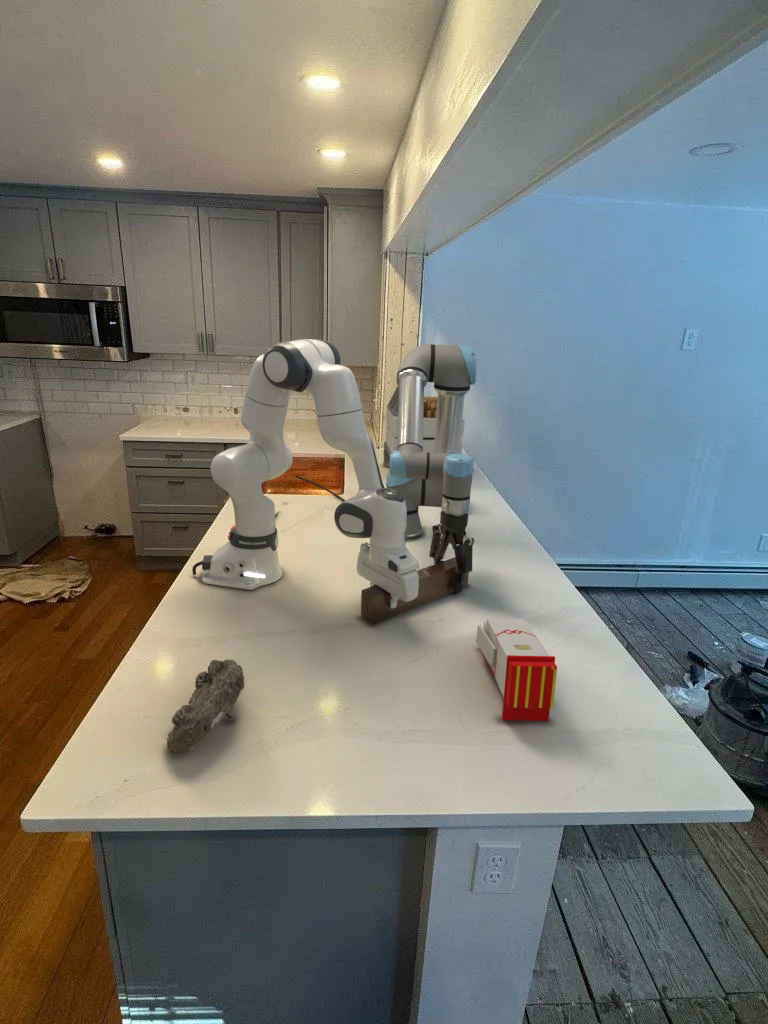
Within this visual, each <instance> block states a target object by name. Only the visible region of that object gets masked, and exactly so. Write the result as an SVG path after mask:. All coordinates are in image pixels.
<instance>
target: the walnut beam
mask: <svg viewBox="0 0 768 1024" xmlns="http://www.w3.org/2000/svg"><path fill="white" fill-rule="evenodd" d="M416 570H417V572H418V576H419V588H418V596H417V597H416V598H415V599H414V600H411V601H408V602H404V601H403V600H401V599H398V601H397V606H396V607H395V608H393V609H392V608H390V607H389V606H388V601H389V600H391V599H392V597H391V593H389V592H387V591H386V590H384V589H382V588H380V587H379V586H377V585H375V586H372V587H371V586H369V587H366V588H363V589H361V592H360V593H361V595H360V596H361V597H360V619H361V620H363V621H365V622H366V623H367V624H369V625H371V626H373V625H376V624H379V623H381V622H383V621H386V620H388V619H391V618H393V617H396V616H398V615H401V614H402V613H403V614H404V613H406V612H407V611H410V610H413V609H416V608H418V607H420V606H422V605H425V604H427V603H430V602H432V601H434V600H437V599H440V598H442V597H445V596H447V595H450V594H452V593H453V592H454V582H455V572H457V571H458V569H457V563H456V557H455V556H454V557H452V558H448V559H446V560H443V562H440V563H437V564H434V563H433V564H431V565H429V566H426V567H423V568H421V569H416ZM469 576H470V572H469V573H466V574H465V582H464V583H463V586H462V589H465V588H467V587H468V585H469Z"/></svg>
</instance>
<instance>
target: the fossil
mask: <svg viewBox="0 0 768 1024" xmlns="http://www.w3.org/2000/svg"><path fill="white" fill-rule="evenodd" d="M243 670H244V669H243V667H242V665H240V664H237V662H236V661H235V660H234V659H232V658H231V659H227V658H226V659H224V660H223V661H222V660H217V659H212V660H211V661H210V663H209V665H208V666H207V671H201V672H199V673H198V674H197V675H196V676H195V680H194V684H195V685H194V687H195V689H194V690H193V693H192V694H191V697H190V698H189V700H188V704H184V705H182V706H181V707H180V709H177V710H176V711H175V713H174V715H173V716H172V718H171V723H172V724H173V727H172V730H171V731H170V732H168V734H167V738H166V741H167V742H166V745H167V749H168V750H169V751H173V752H174V753H176V754H178V753H182V752H188V751H189V752H192V751H193V750H195V748H196V747H197V746H199V744H200V743H201V742H203V741H204V740H205V739H206V738H207V737H208V736H209V735H210V734H211V733H212V732H214V730H215V729H217V727H218V726H219V724H220V722H221V721H222V720H223V719H224V718H225V716H226V717H227V719H229V720H233V717H232V715H230V714H229V710H230V709H231V708H234V706H235V704H236V703H237V702H238V699H239V697H240V695H241V693H242V691H243V690H245V689H244V688H245V675H244V671H243Z"/></svg>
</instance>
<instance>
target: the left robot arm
mask: <svg viewBox="0 0 768 1024" xmlns="http://www.w3.org/2000/svg"><path fill="white" fill-rule="evenodd" d="M341 361H342V359H341V355H340V352H339V350H338V348H337V347H336V346H335V344H334V343H332V342H331V341H329V340H325V339H321V338H314V339H312V338H298V339H295V340H289V341H280V342H277V343H275V344H273V345H271V346H270V347H269V348H267V350H266V351H265V352H264V353H263V354H260V355H259V356H258V357H257V358H256V359H255V361H254V363H253V366H252V368H251V371H250V373H249V377H248V378H247V383H246V387H245V388H246V389H245V393H244V398H243V403H242V408H241V414H240V423H241V424H242V426H243V428H244V429H245V430H246V431H248V432H249V436H250V437H249V440H248V442H247V443H246V444H242V445H238V446H233V447H230V448H227V449H225V450H223V451H222V452H220V453H218V454H216V455H215V456H214V457H213V458H212V460H211V463H210V475H211V477H212V480H213V482H215V484H216V485H217V486H218V487H219V488H220V489H222V490H224V491H225V492H226V493H227V494H228V496H229V497H230V500H231V503H232V506H233V512H234V523H235V524H233V525H232V527H231V528H230V530H229V532H228V535H227V542H226V543H225V544H223V545H222V546H221V547H219V548H218V549H217V550H216V551H215V552H214V553H213V554H212V555H211V554H209V555H208V554H206V555H203V558H202V560H201V561H198V562H196V563H195V564H194V565H193V566H192V567H191V569H192V571H191V572H192V576H197V568H198V567H200V566H201V568H202V569H201V570H202V571H203V572H202V574H201V581H202V582H203V583H204V584H208V585H212V586H213V585H214V586H221V587H227V588H233V589H241V590H247V591H248V590H249V591H252V590H255V589H257V588H260V587H262V586H266V585H270V584H273V583H275V582H277V581H279V580H280V579H281V578H282V576H283V571H282V567H281V565H280V560H279V554H278V547H279V535H278V529H277V527H276V518H275V515H276V506H275V502H274V501H273V500H272V499H271V498H270V497H268V496H266V495H264V491H263V488H262V484H263V483H264V482H267V481H270V480H274V479H277V478H278V477H280V476H282V475H283V474H285V473H286V472H287V471H289V470H290V469H291V467H292V464H293V461H294V459H293V457H294V456H293V453H292V450H291V448H290V446H289V445H288V444H287V443H286V442H285V437H284V426H285V421H286V416H287V412H288V406H289V402H290V397H291V393H292V391H293V392H297V393H303V392H304V391H306V392H308V393H310V395H311V396H312V398H313V401H314V405H315V413H316V419H317V426H318V429H319V432H320V435H321V438H322V440H323V441H324V442H325V443H326V444H327V445H328V446H330V447H331V448H333V449H335V450H337V451H340V452H344V453H346V454H347V455H348V457H350V459H351V462H352V465H353V469H354V473H355V477H356V480H357V484H358V491H357V494H356V495H355V494H354V496H352V497H349V498H348V499H345V500H346V501H344V502H343V501H342V502H341V503H340V504H338V505H337V507H336V508H335V510H334V515H333V518H334V519H333V520H334V524H335V526H336V528H337V530H338V531H339V532H340V533H341V534H342V535H344V536H345V537H347V538H354V539H369V543H368V542H366V541H365V542H363V543H361V544H360V545H359V552H358V555H357V560H356V573H357V575H358V576H360V577H362V578H363V579H365V580H366V581H368V582H370V583H369V585H370V587H372V586H375V585H377V586H379V587H380V588H382V589H384V590H386V591H387V592H389V593H391V597H392V599H391V600H389V601H388V606H389V607H390V608H392V609H393V608H395V607H396V606H397V601H398V599H401V600H403V601H404V602H408V601H411V600H414V599H415V598H416V597H417V596H418V588H419V576H418V572H417V570H418V569H419V568H420V561H419V559H418V558H417V557H416V556H414V555H413V554H412V552H411V551H410V550H409V549H408V547H406V540H405V538H404V533H405V530H406V525H407V508H406V501H405V498H404V496H403V495H402V494H401V493H400V492H398V491H396V490H393V489H389V488H386V486H385V485H384V483H383V479H382V476H381V472H380V467H379V463H378V459H377V455H376V451H375V450H376V449H375V446H374V443H373V440H372V438H371V436H370V434H369V432H368V428H367V425H366V421H365V415H364V409H363V404H362V398H361V395H360V390H359V387H358V384H357V381H356V377H355V374H354V373H353V371H352V369H350V368H349V367H348V366H345V365H343V364H342V363H341Z"/></svg>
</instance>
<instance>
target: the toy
mask: <svg viewBox="0 0 768 1024" xmlns="http://www.w3.org/2000/svg"><path fill="white" fill-rule="evenodd" d="M476 629H477V631H476V638H475V642H476V645H477V646H478V648H479V650H480V652H481V654H482V656H483V658H484V660H485V661H486V664H487V666H488V668H489V669H490V671H491V672H492V675H493V676H494V679H495V681H496V685H497V686H498V688H499V690H500V692H501V695H502V697H503V701H502V712H501V720H502V721H521V722H523V721H526V722H528V721H529V722H550V712H551V709H554V702H555V692H556V681H557V673H558V665H557V664H556V656H555V655H550V654H549V652H548V651H547V650H546V648H545V647H544V645H543V644H542V642H541V641H540V639H539V638H538V637H537V635H536V634H535V632H534V631H533V629H532V627H531V625H530V624H528V623H527V621H526V619H521V618H518V619H515V618H513V619H512V618H486V620H484V621H483V626H482V625H481V624H477V628H476Z"/></svg>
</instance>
